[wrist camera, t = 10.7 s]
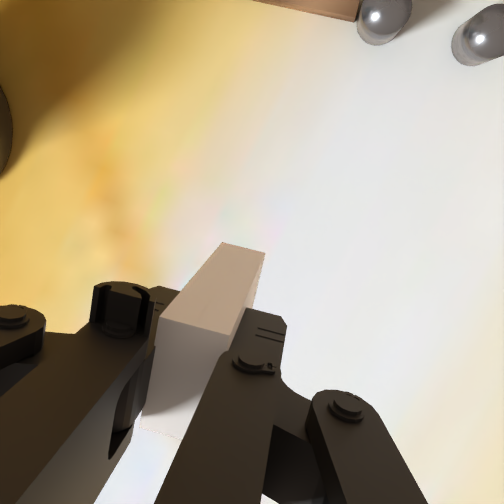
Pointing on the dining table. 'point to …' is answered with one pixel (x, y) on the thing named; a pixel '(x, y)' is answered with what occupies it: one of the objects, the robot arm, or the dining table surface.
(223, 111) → the dining table surface
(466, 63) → the spacer field
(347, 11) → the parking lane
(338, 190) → the dining table surface
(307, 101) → the dining table surface
